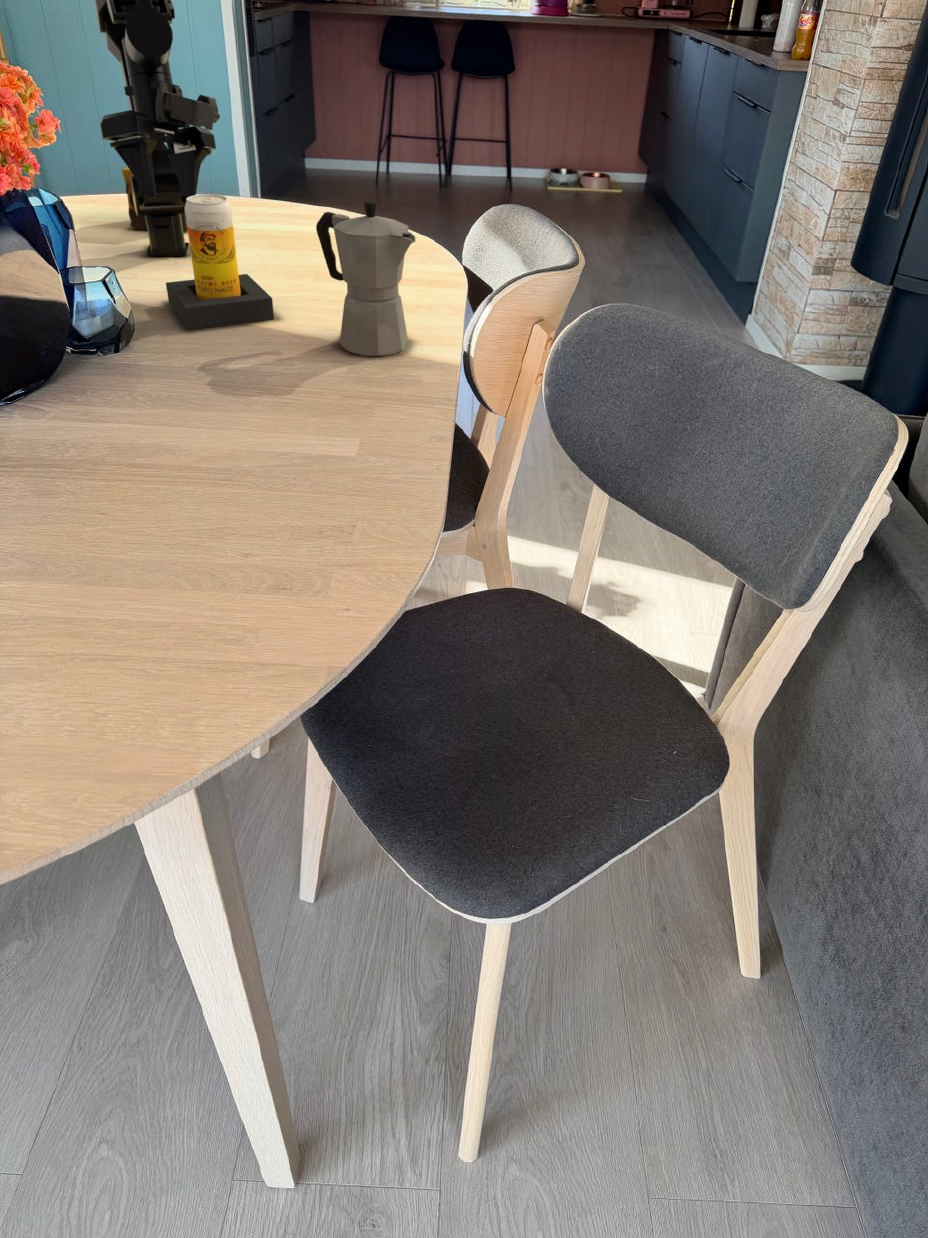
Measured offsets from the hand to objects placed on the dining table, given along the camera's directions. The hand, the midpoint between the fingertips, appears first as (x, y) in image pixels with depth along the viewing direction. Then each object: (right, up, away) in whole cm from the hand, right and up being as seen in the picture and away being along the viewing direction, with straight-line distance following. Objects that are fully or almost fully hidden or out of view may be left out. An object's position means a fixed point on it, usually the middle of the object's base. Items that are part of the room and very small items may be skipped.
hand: (172, 200), depth 130 cm
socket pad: (+7, -16, -1) cm, 18 cm away
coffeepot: (+29, -24, -9) cm, 39 cm away
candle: (-13, +12, +36) cm, 40 cm away
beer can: (+7, -17, -1) cm, 18 cm away
